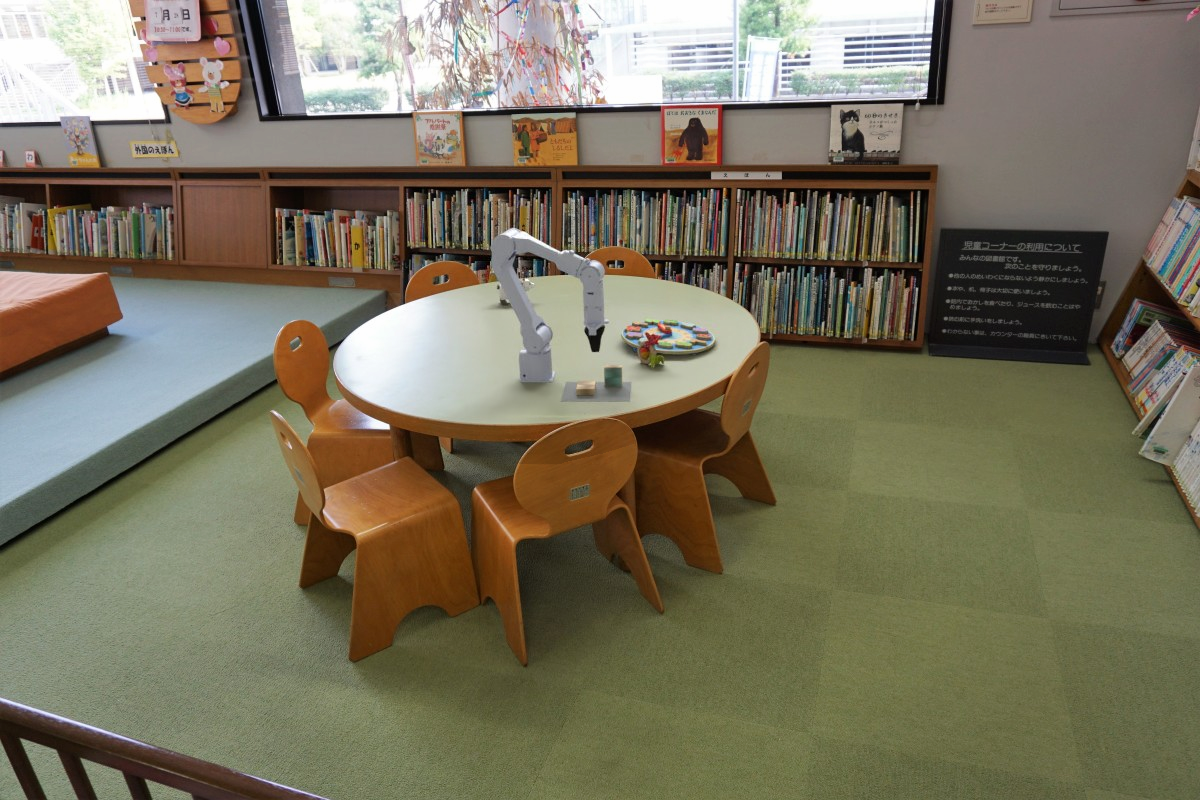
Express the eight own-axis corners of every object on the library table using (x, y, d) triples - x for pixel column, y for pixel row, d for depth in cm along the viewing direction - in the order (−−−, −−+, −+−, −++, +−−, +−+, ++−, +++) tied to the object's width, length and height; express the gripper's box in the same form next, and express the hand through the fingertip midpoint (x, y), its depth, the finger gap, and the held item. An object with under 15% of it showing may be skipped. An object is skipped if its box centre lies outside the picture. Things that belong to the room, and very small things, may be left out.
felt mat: (560, 402, 222) (560, 401, 222) (565, 383, 235) (565, 382, 235) (629, 402, 221) (629, 401, 221) (631, 383, 234) (631, 381, 233)
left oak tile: (578, 387, 231) (576, 395, 225) (578, 380, 230) (576, 389, 224) (595, 387, 230) (594, 395, 225) (595, 380, 230) (594, 389, 224)
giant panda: (498, 306, 308) (496, 281, 304) (497, 302, 313) (495, 278, 309) (536, 303, 311) (535, 278, 307) (534, 299, 316) (533, 275, 312)
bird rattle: (636, 373, 246) (657, 368, 239) (625, 338, 245) (646, 332, 238) (649, 367, 250) (670, 362, 244) (638, 333, 249) (659, 327, 242)
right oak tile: (604, 387, 230) (604, 367, 228) (604, 384, 232) (604, 365, 230) (622, 387, 230) (621, 367, 227) (622, 384, 232) (622, 365, 229)
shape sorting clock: (711, 362, 248) (711, 343, 246) (613, 358, 254) (613, 339, 252) (717, 330, 276) (718, 313, 273) (629, 327, 282) (629, 310, 279)
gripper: (606, 313, 219) (607, 360, 224) (609, 298, 232) (611, 342, 237) (580, 313, 219) (582, 360, 225) (585, 298, 233) (587, 342, 238)
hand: (595, 351), depth 231 cm, fingers closed
